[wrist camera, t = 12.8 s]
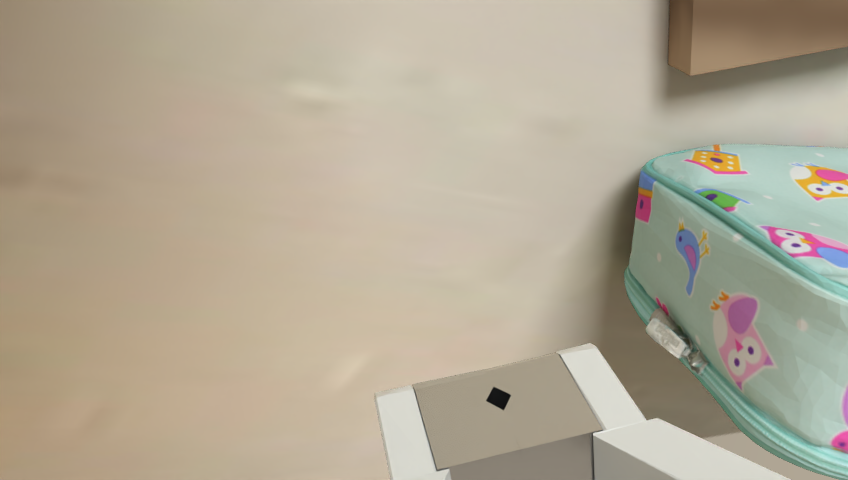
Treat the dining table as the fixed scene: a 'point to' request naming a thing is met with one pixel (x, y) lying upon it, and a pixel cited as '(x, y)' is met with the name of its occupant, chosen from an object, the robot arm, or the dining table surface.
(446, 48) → the dining table surface
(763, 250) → the lunch box
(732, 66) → the walnut deck
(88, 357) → the dining table surface
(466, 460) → the robot arm
